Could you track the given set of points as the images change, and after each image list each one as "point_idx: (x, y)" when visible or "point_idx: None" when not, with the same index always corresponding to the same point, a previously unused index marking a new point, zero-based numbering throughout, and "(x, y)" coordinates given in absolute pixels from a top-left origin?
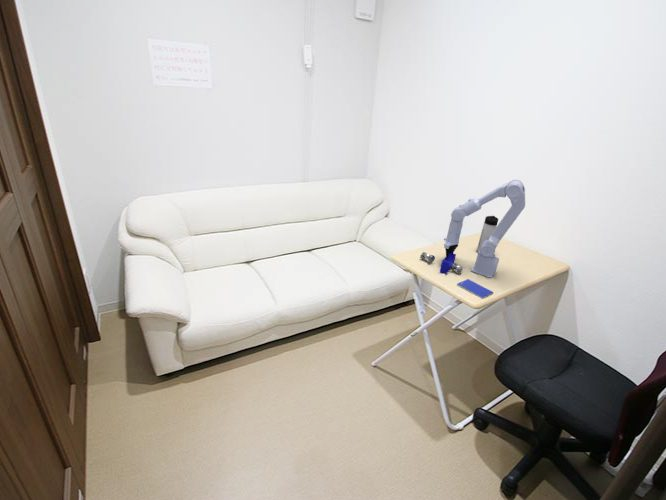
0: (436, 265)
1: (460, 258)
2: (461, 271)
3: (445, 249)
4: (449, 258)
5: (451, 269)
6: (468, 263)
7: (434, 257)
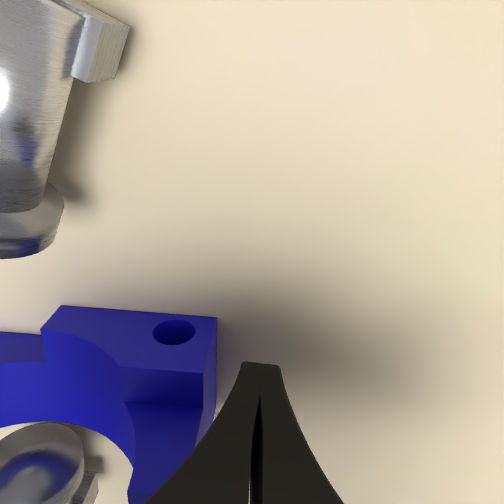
0: (57, 258)
1: (471, 434)
2: (95, 491)
3: (189, 457)
4: (133, 442)
5: (15, 436)
6: (376, 501)
7: (20, 249)
